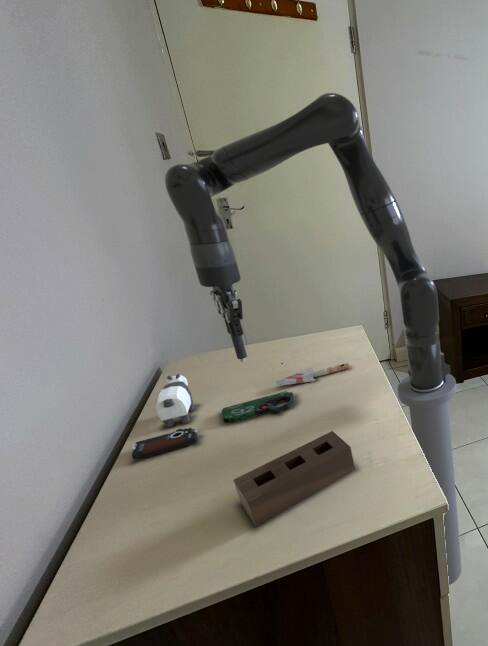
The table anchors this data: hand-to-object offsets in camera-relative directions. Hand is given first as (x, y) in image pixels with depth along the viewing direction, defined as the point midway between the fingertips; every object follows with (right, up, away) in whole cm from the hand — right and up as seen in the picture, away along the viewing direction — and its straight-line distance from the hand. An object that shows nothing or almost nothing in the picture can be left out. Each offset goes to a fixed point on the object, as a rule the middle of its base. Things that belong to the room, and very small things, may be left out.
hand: (236, 334), depth 93 cm
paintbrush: (+5, -14, +27) cm, 31 cm away
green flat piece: (-1, -21, +11) cm, 24 cm away
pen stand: (+22, -30, -13) cm, 40 cm away
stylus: (0, -7, +3) cm, 7 cm away
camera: (-15, -26, -1) cm, 30 cm away
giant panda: (-21, -21, +10) cm, 32 cm away
